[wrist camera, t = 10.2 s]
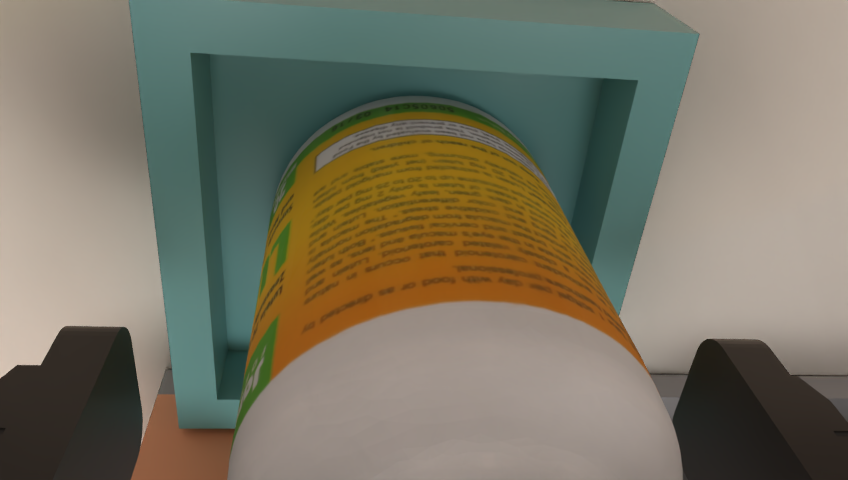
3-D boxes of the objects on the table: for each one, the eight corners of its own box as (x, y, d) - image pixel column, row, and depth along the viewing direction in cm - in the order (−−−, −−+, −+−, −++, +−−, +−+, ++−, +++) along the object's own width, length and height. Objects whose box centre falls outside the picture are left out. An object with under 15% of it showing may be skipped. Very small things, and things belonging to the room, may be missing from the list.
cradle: (653, 3, 13) (699, 34, 11) (563, 367, 17) (586, 428, 16) (159, -34, 12) (127, -7, 10) (196, 363, 16) (179, 428, 15)
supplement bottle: (242, 109, 13) (57, 678, 4) (541, 68, 13) (895, 547, 5) (302, 342, 16) (256, 951, 7) (546, 306, 16) (771, 865, 7)
